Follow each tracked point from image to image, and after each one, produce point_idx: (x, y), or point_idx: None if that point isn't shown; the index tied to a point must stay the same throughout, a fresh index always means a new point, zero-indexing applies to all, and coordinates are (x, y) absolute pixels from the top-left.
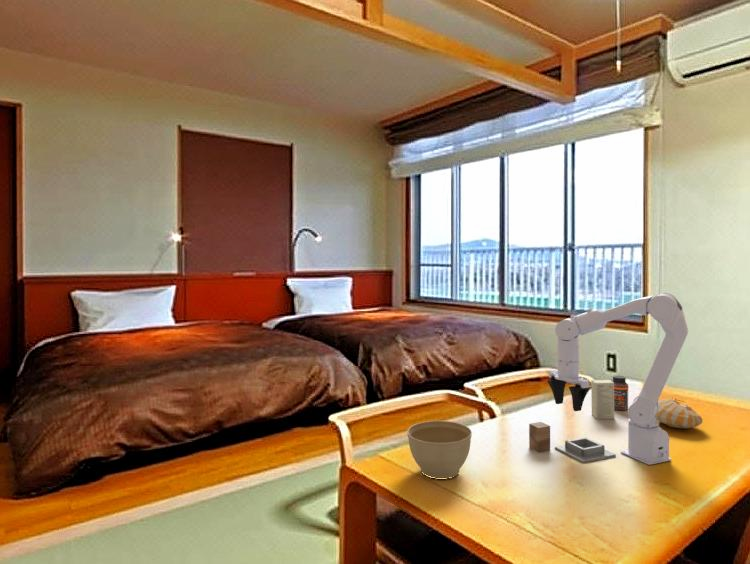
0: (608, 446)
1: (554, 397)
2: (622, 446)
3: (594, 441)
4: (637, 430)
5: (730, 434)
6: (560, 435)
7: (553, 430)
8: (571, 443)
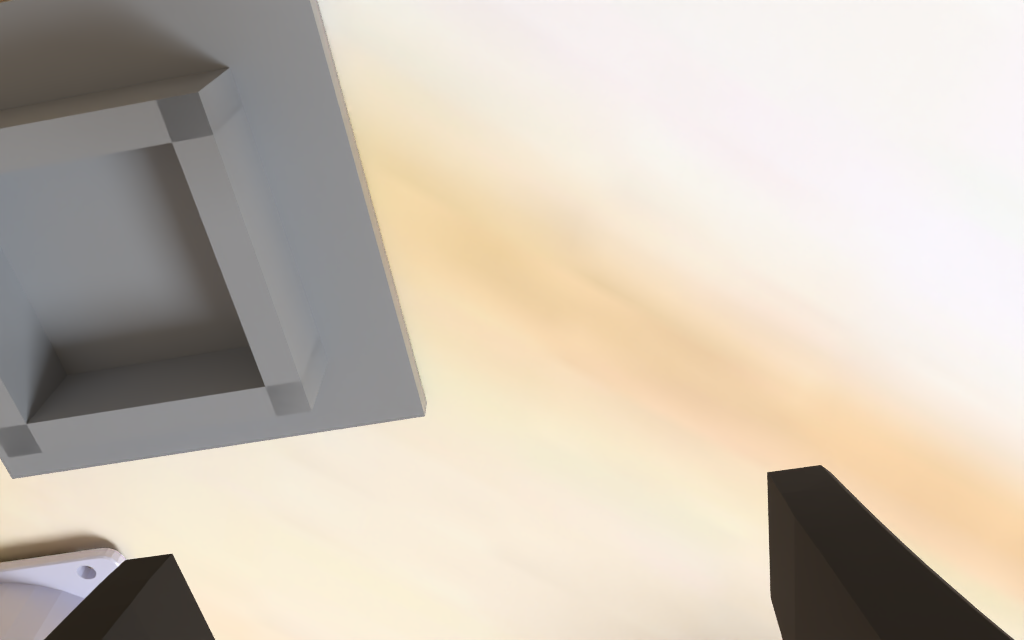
0: (301, 536)
1: (896, 561)
2: (286, 629)
3: (159, 431)
4: None
5: None
6: (737, 271)
7: (924, 279)
8: (83, 125)
